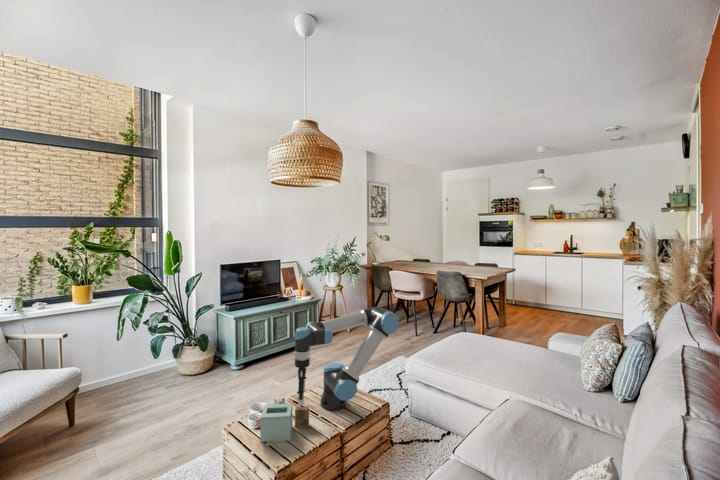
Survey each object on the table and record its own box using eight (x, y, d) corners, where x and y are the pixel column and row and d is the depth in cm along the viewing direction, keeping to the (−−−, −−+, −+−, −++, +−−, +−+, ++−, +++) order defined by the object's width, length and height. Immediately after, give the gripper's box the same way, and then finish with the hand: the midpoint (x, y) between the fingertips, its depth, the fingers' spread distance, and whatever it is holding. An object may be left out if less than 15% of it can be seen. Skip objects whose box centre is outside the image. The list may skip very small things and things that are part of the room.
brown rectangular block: (308, 423, 183) (309, 406, 183) (308, 426, 180) (308, 409, 180) (295, 423, 182) (295, 406, 182) (295, 427, 179) (295, 410, 179)
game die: (281, 421, 190) (282, 413, 184) (267, 414, 192) (268, 406, 186) (289, 407, 197) (291, 398, 191) (276, 400, 199) (277, 391, 192)
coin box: (292, 425, 180) (292, 403, 179) (290, 440, 168) (290, 416, 168) (264, 427, 178) (264, 404, 178) (260, 441, 167) (260, 417, 166)
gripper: (296, 349, 191) (296, 387, 192) (292, 368, 167) (292, 411, 167) (310, 349, 192) (309, 386, 193) (308, 367, 167) (308, 410, 168)
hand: (301, 398), depth 180 cm, fingers open, 13 cm apart
